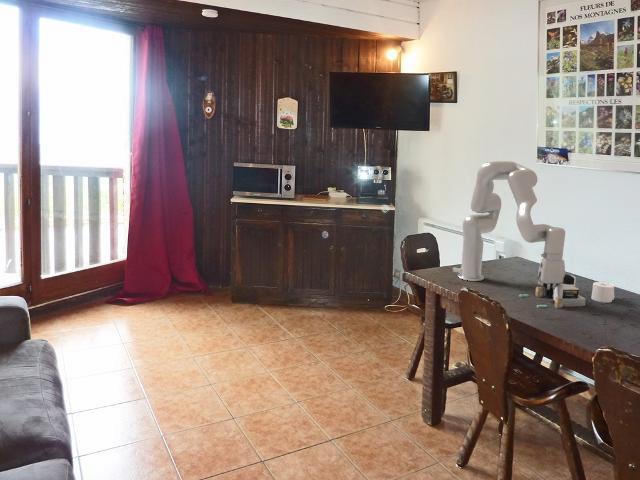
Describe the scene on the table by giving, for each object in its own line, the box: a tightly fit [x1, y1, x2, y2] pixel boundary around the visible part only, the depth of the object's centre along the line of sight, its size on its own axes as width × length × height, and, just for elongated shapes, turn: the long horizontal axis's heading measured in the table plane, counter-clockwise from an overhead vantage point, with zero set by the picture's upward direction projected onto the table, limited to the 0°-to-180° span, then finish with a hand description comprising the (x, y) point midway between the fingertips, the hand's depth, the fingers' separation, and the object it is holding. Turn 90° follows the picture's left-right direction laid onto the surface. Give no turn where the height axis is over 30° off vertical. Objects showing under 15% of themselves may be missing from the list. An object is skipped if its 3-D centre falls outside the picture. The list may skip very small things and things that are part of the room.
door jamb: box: [534, 286, 563, 309], centre depth 240 cm, size 2×18×4 cm, turn 7°
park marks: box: [519, 294, 548, 309], centre depth 239 cm, size 4×16×1 cm, turn 8°
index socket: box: [543, 289, 586, 307], centre depth 241 cm, size 10×14×3 cm
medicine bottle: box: [553, 273, 580, 301], centre depth 239 cm, size 7×7×12 cm
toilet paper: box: [591, 281, 615, 304], centre depth 246 cm, size 8×11×7 cm
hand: (548, 297), depth 240 cm, fingers closed
